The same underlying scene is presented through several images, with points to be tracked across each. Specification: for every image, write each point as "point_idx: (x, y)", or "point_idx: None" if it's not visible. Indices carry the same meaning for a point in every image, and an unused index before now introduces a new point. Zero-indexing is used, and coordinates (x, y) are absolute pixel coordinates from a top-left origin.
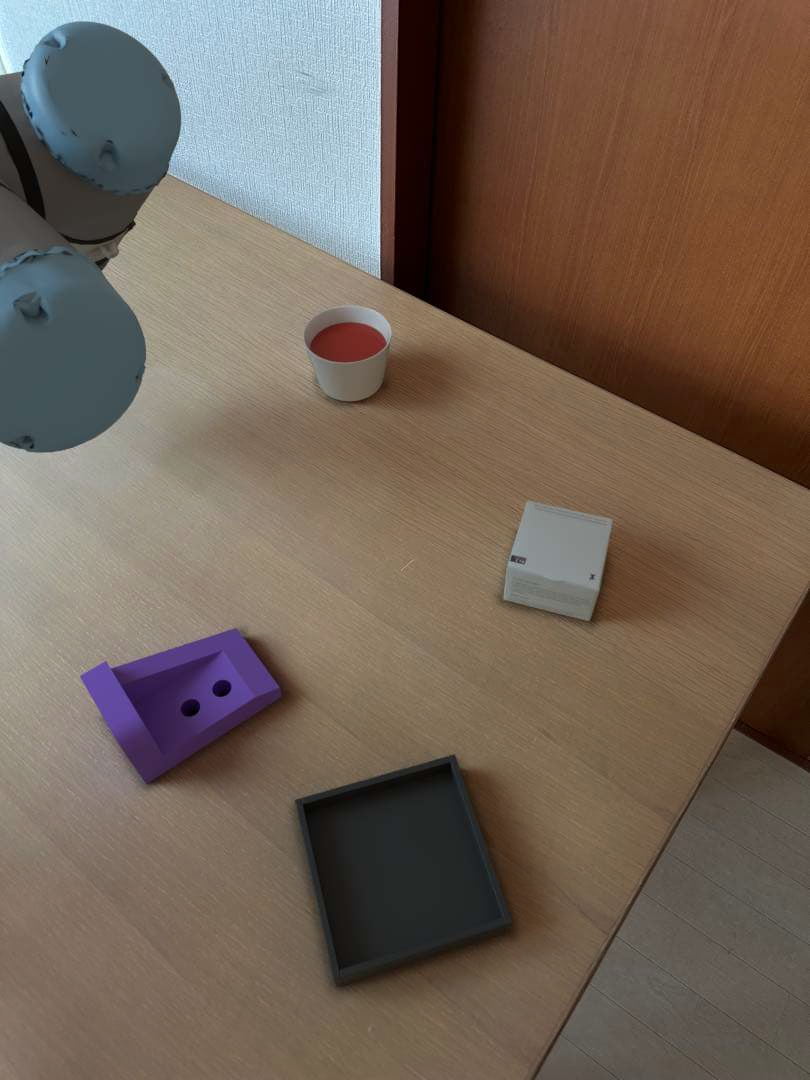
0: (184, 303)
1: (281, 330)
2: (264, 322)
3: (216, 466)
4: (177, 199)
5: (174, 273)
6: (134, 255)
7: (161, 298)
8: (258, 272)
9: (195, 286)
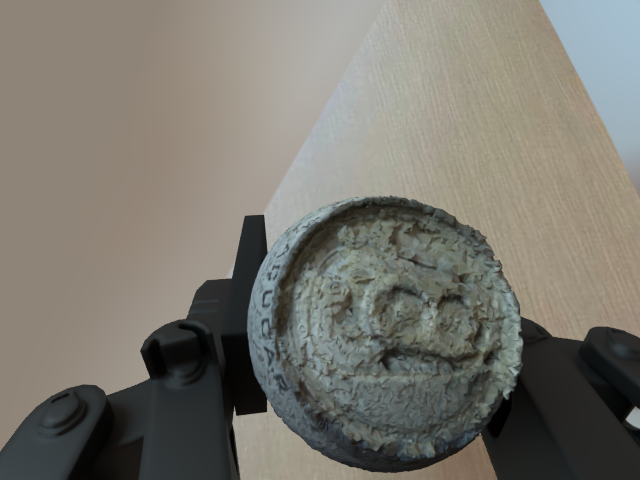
0: (492, 193)
1: (570, 307)
2: (558, 281)
3: (406, 473)
4: (549, 56)
5: (502, 146)
6: (477, 97)
7: (474, 170)
8: (583, 204)
9: (513, 178)
